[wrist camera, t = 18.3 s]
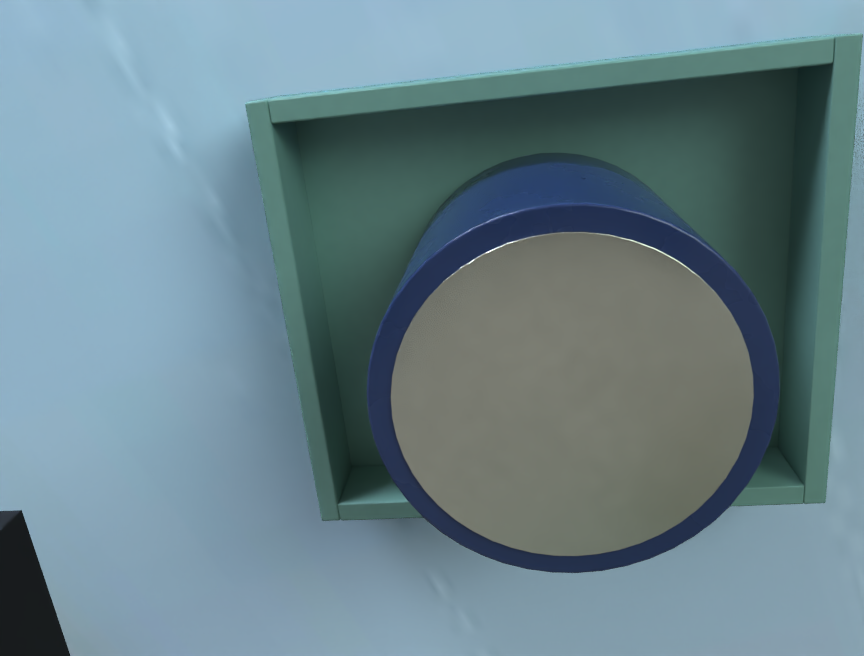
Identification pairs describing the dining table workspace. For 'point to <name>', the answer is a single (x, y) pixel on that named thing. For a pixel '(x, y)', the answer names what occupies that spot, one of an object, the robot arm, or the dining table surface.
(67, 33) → the dining table surface
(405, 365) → the pot
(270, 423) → the dining table surface
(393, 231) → the tray
